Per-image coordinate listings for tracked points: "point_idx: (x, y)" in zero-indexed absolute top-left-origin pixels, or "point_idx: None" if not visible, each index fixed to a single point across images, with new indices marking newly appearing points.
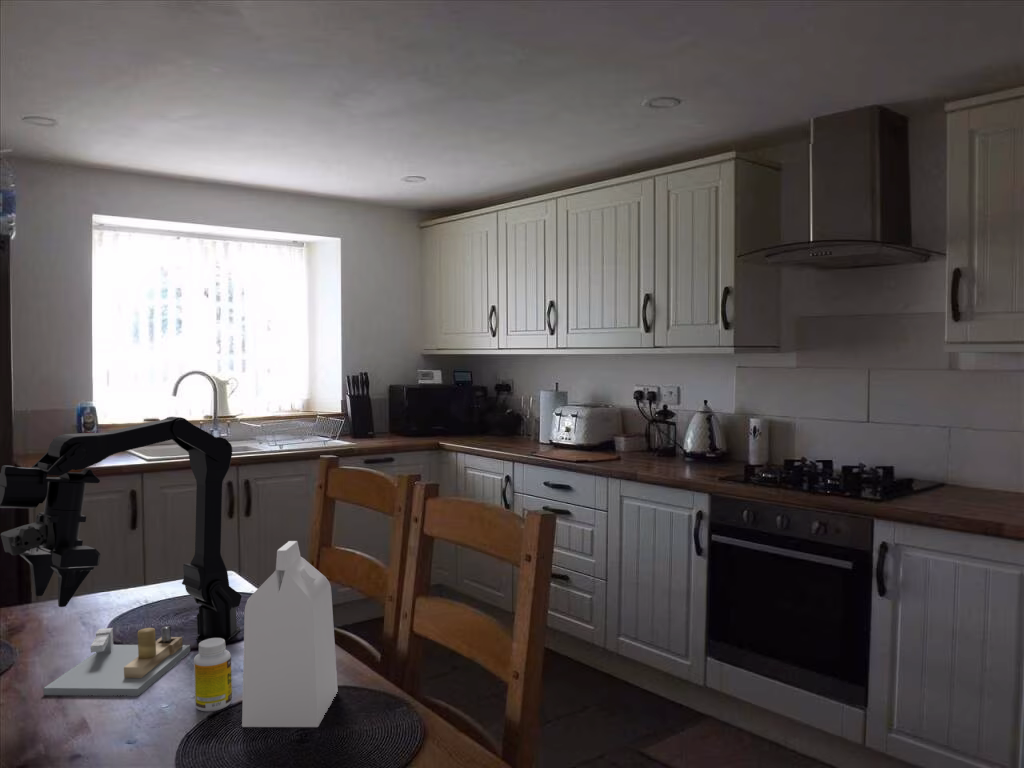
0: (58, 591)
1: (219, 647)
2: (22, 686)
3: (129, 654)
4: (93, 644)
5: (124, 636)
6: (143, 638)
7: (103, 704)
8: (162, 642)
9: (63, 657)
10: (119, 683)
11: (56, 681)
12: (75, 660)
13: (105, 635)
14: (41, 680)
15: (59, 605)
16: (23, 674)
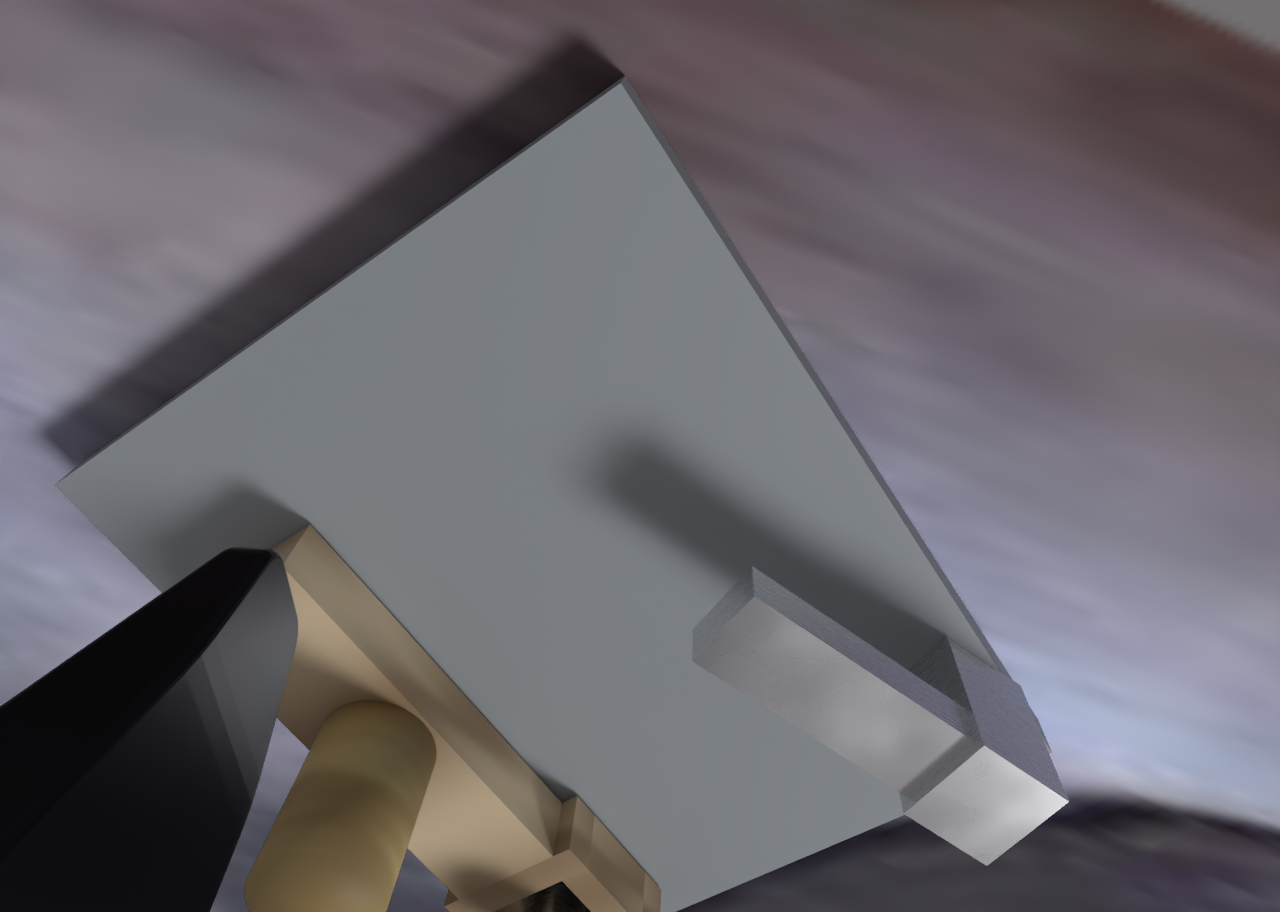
0: (42, 755)
1: None
2: (975, 47)
3: (720, 737)
4: (779, 629)
5: (1181, 887)
6: (278, 828)
7: (104, 267)
8: (550, 903)
9: (1247, 510)
10: (243, 462)
11: (667, 212)
12: (1094, 530)
13: (895, 767)
14: (952, 203)
15: (214, 559)
16: (1230, 170)
